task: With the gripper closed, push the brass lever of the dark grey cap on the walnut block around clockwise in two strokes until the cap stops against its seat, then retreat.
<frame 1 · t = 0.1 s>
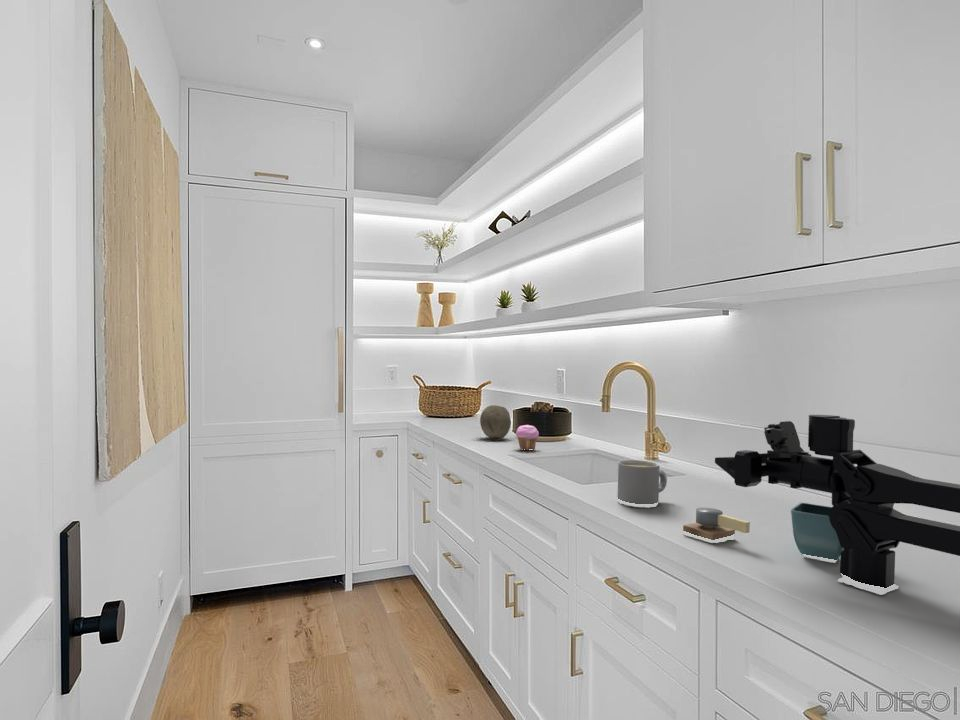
hand: (729, 458, 114), 17 cm above the worktop, tool horizontal, fingers open, 9 cm apart
flower pot: (820, 559, 106), on the worktop
coffee mug: (644, 503, 144), on the worktop
cantaloupe: (495, 439, 252), on the worktop
cap: (722, 520, 114), point 4 cm above the worktop, hinge at 0.0°
cupcake: (526, 450, 224), on the worktop
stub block: (708, 537, 117), on the worktop
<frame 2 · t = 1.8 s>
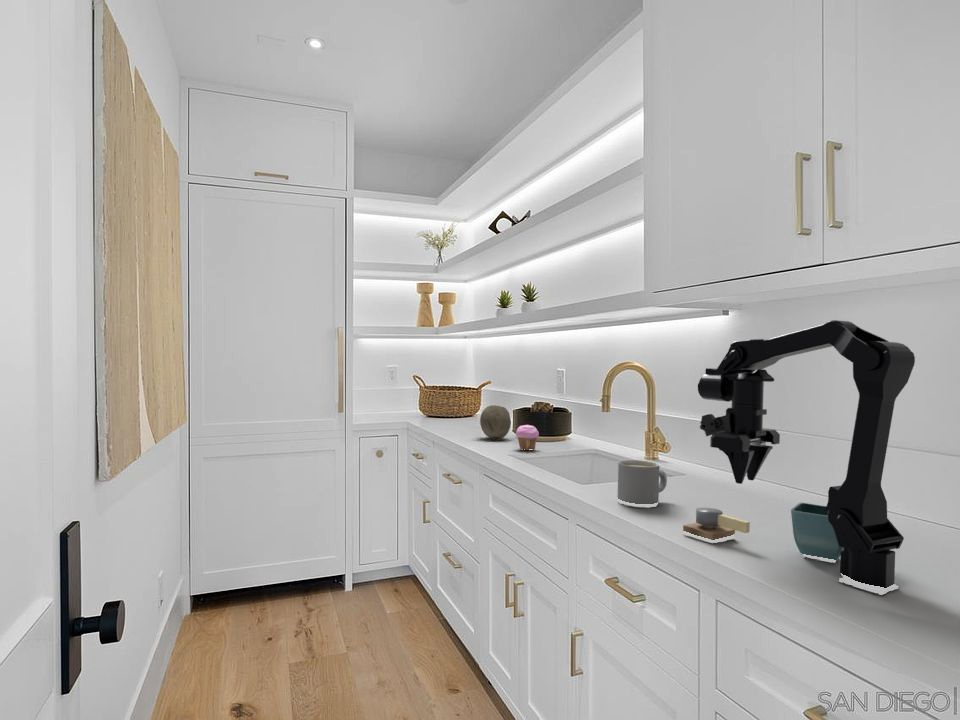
hand: (744, 481, 114), 12 cm above the worktop, tool pointing down, fingers open, 5 cm apart
nothing on the worktop moved.
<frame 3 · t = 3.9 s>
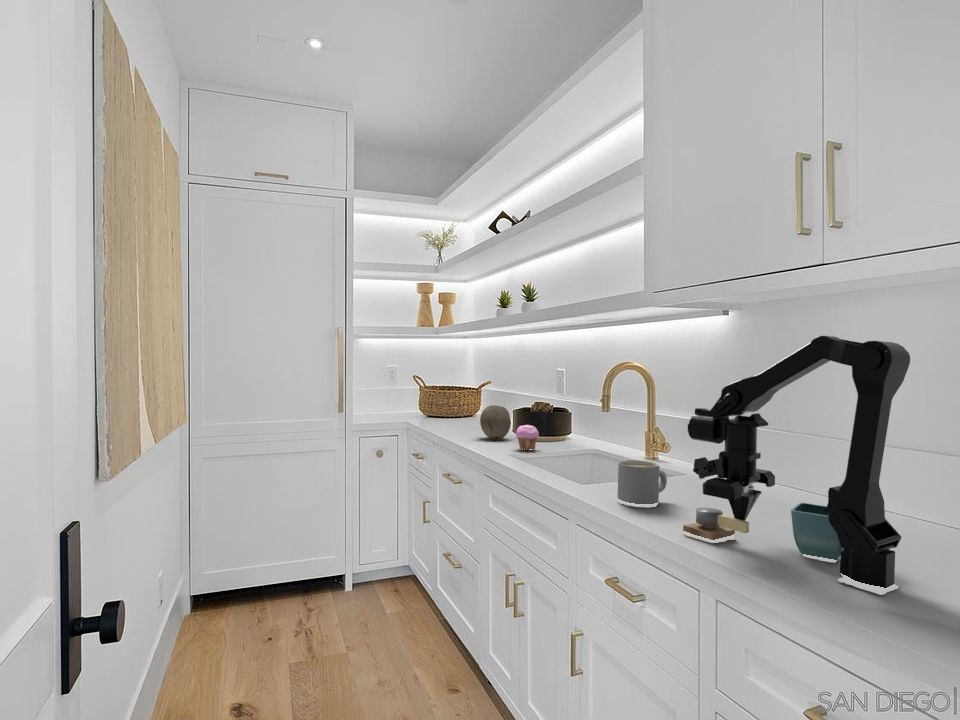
hand: (739, 526, 113), 4 cm above the worktop, tool pointing down, fingers closed
cap: (721, 520, 114), point 4 cm above the worktop, hinge at 1.4°, touching gripper
everything else where it was.
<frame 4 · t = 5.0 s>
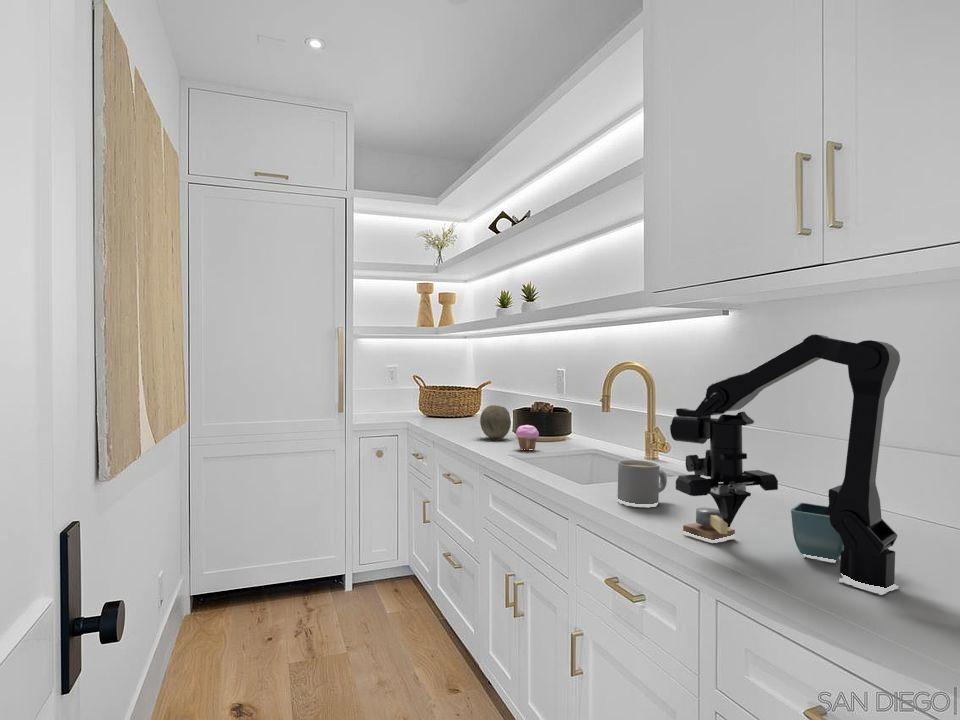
hand: (727, 526, 111), 4 cm above the worktop, tool pointing down, fingers closed
cap: (714, 520, 114), point 4 cm above the worktop, hinge at 35.7°, touching gripper
everything else where it was.
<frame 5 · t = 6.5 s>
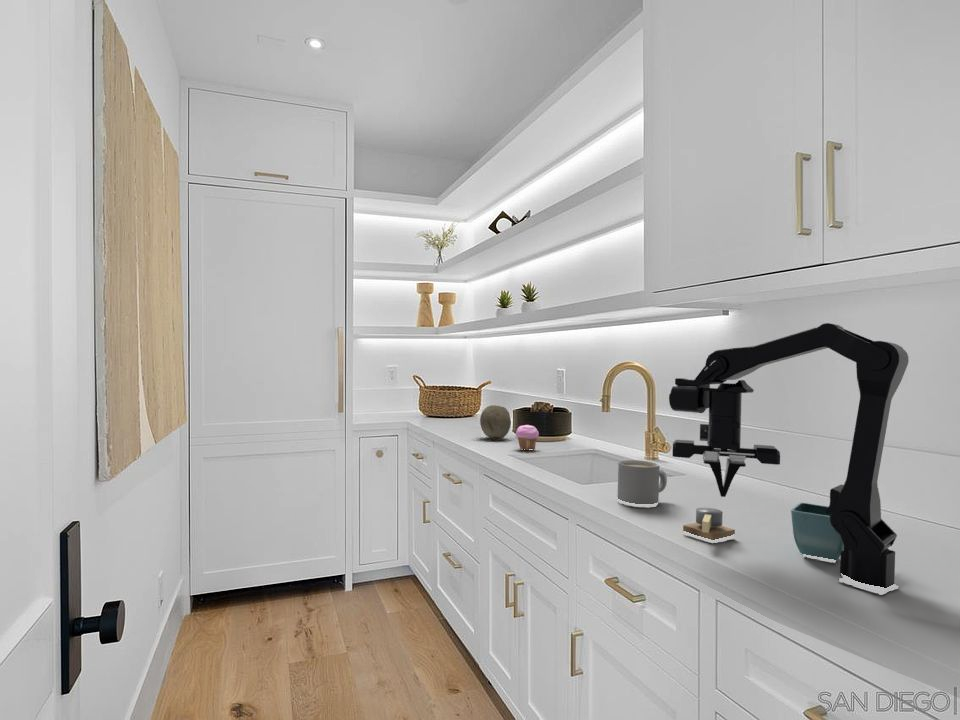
hand: (722, 496, 110), 10 cm above the worktop, tool pointing down, fingers closed
cap: (707, 520, 114), point 4 cm above the worktop, hinge at 58.4°
everything else where it was.
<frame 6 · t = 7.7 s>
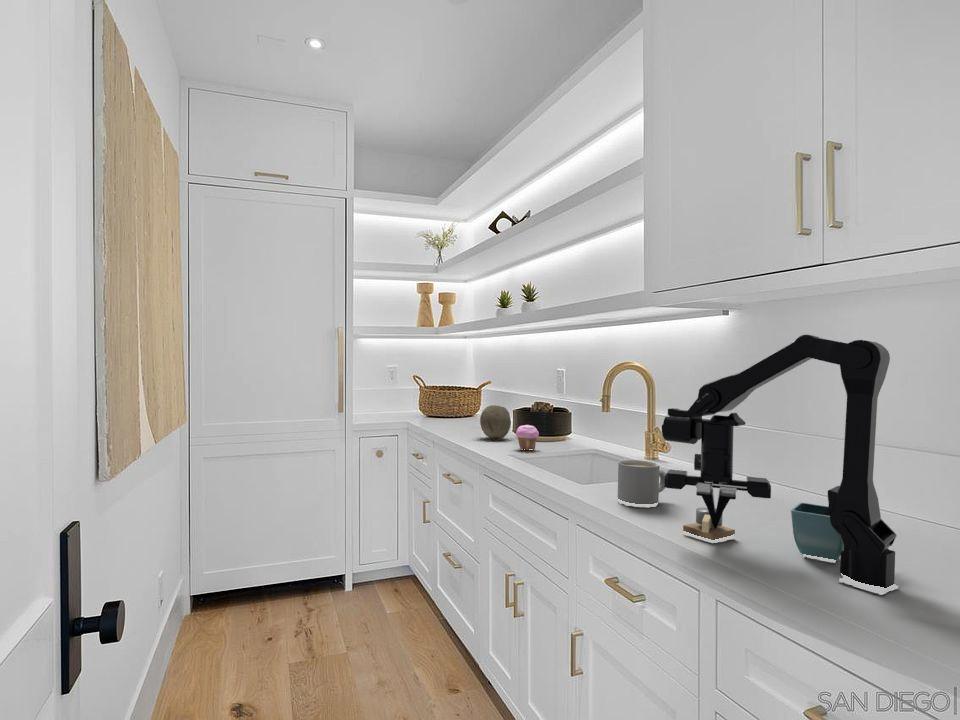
hand: (715, 527, 111), 4 cm above the worktop, tool pointing down, fingers closed
cap: (707, 520, 114), point 4 cm above the worktop, hinge at 58.6°, touching gripper
everything else where it was.
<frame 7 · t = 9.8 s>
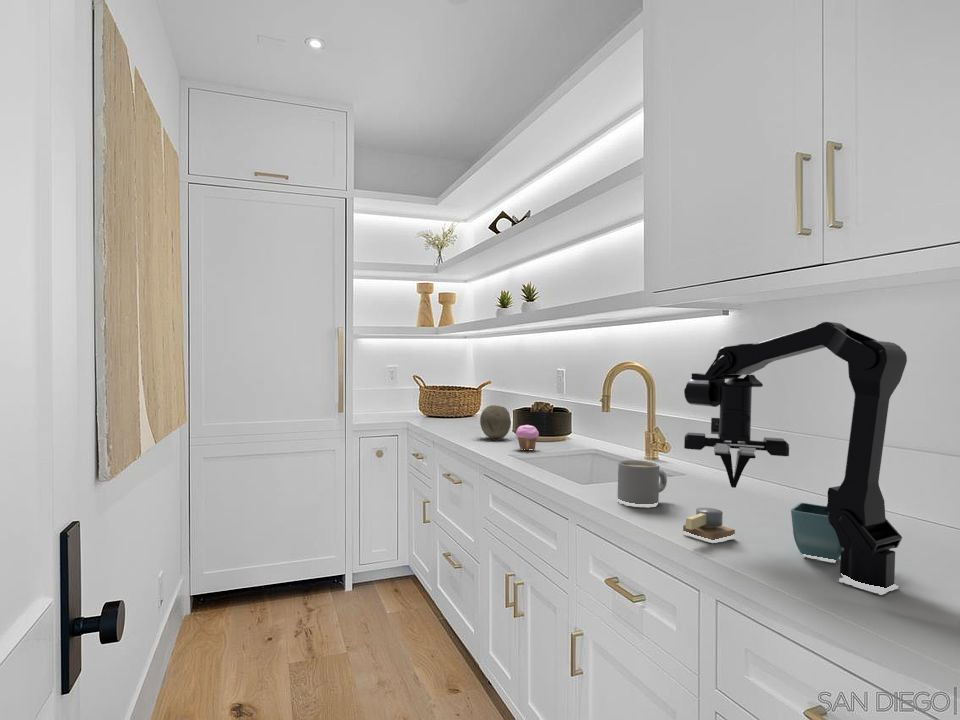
hand: (733, 487, 114), 11 cm above the worktop, tool pointing down, fingers closed
cap: (702, 519, 115), point 4 cm above the worktop, hinge at 79.7°
everything else where it was.
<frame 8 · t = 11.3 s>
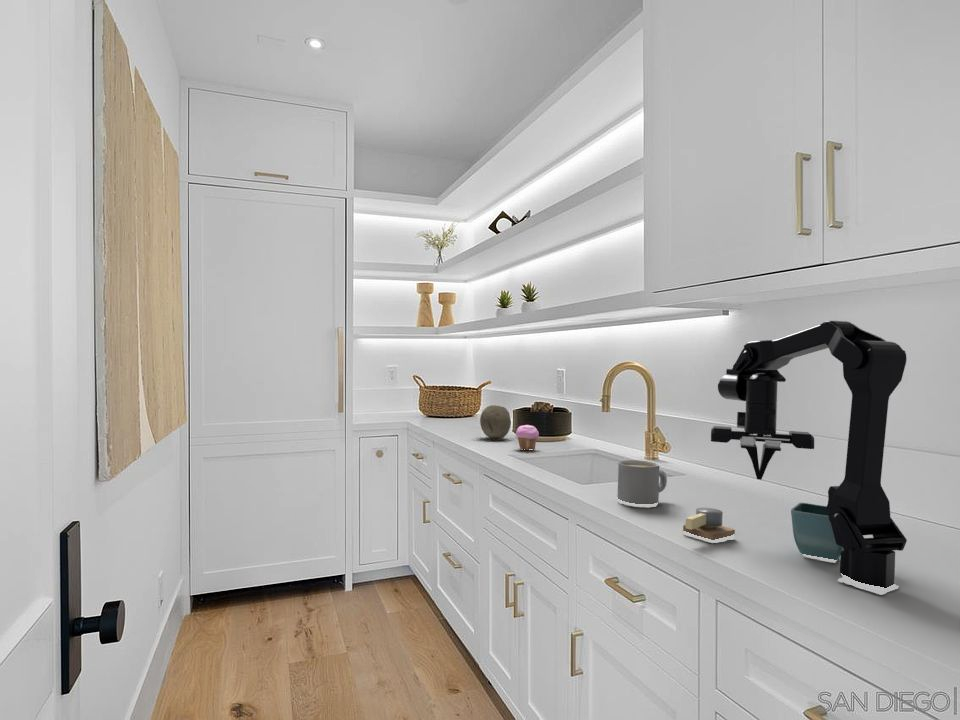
hand: (759, 479, 117), 12 cm above the worktop, tool pointing down, fingers closed
nothing on the worktop moved.
at the end: cap at +80° (first picture: +0°); the gripper is holding nothing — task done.
